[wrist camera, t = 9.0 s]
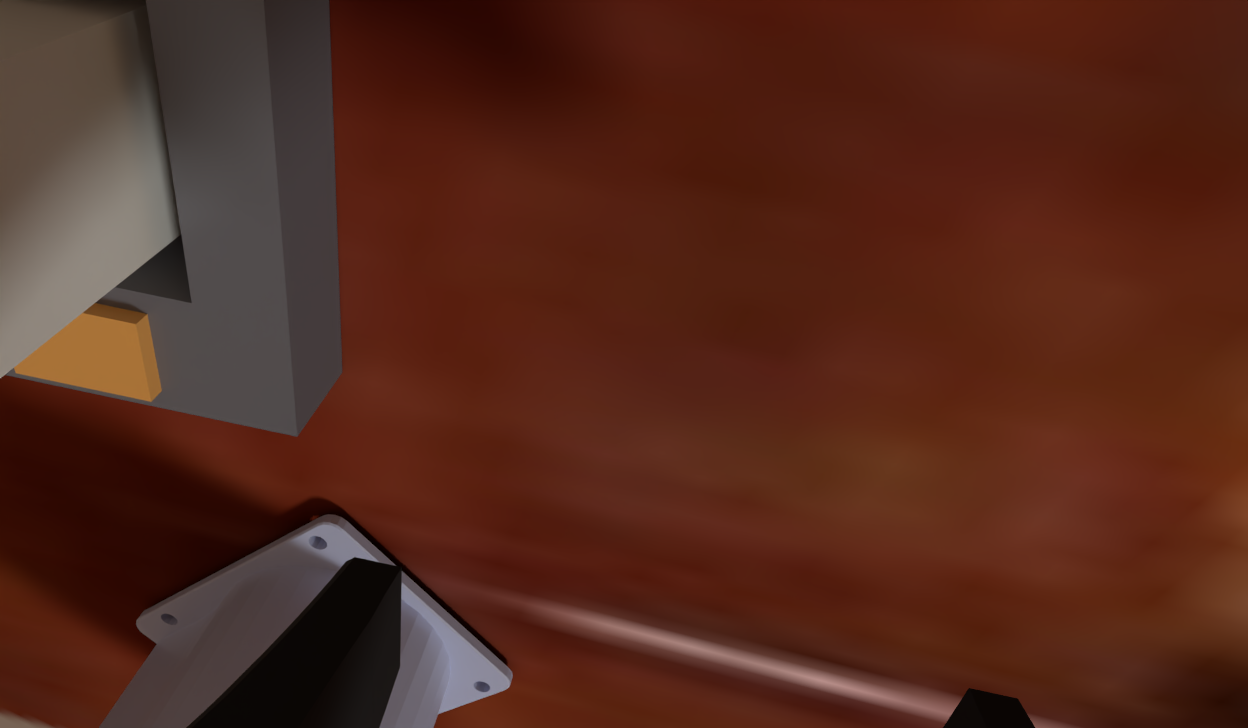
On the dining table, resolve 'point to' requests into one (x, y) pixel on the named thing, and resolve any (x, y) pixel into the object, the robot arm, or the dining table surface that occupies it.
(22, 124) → the plug
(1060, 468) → the dining table surface
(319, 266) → the power strip
